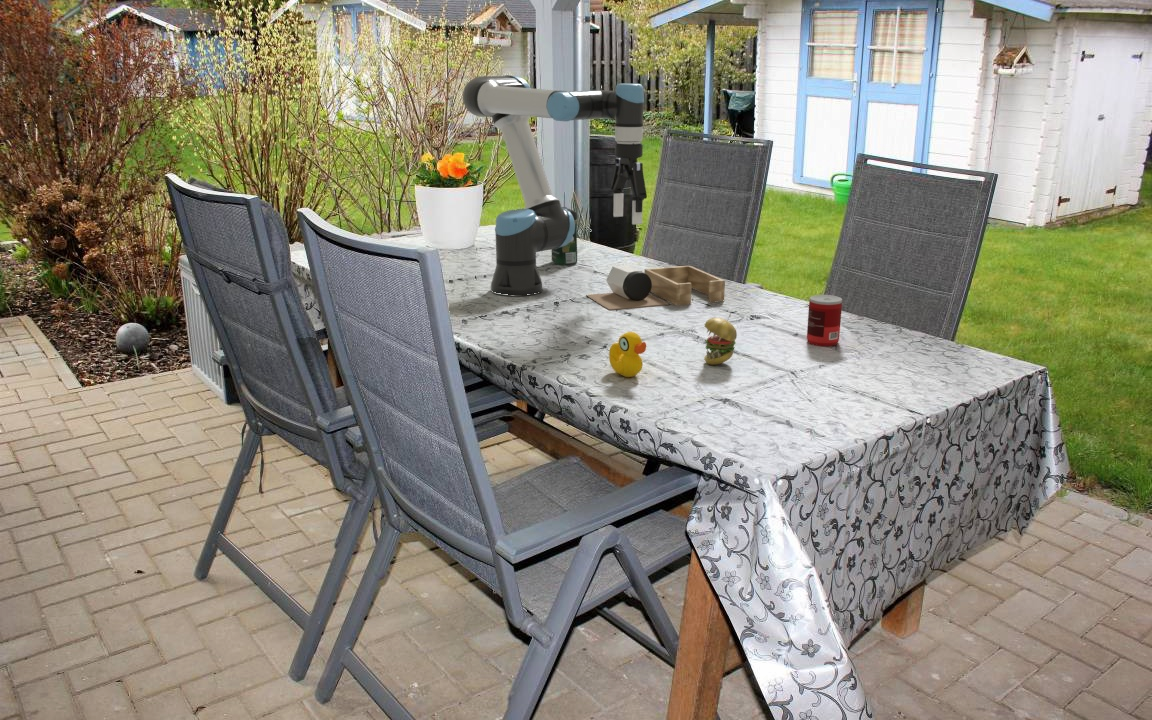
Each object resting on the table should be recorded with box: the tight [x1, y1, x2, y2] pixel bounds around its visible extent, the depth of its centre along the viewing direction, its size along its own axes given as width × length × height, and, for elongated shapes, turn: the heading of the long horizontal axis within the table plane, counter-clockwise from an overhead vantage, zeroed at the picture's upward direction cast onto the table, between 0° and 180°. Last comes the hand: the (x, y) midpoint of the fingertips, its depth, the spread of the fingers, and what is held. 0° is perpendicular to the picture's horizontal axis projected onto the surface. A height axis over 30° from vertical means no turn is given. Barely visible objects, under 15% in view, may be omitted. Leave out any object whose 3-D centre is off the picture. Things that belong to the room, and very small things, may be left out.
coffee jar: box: [551, 206, 578, 266], centre depth 332 cm, size 10×8×19 cm
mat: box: [585, 292, 670, 311], centre depth 284 cm, size 18×18×1 cm
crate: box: [644, 265, 726, 307], centre depth 289 cm, size 15×22×6 cm
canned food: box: [806, 294, 843, 347], centre depth 241 cm, size 8×8×11 cm
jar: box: [605, 264, 652, 301], centre depth 286 cm, size 9×8×12 cm
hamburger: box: [703, 312, 738, 366], centre depth 224 cm, size 8×7×12 cm
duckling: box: [608, 331, 647, 378], centre depth 216 cm, size 11×5×10 cm, turn 35°
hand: (627, 220), depth 278 cm, fingers open, 13 cm apart
